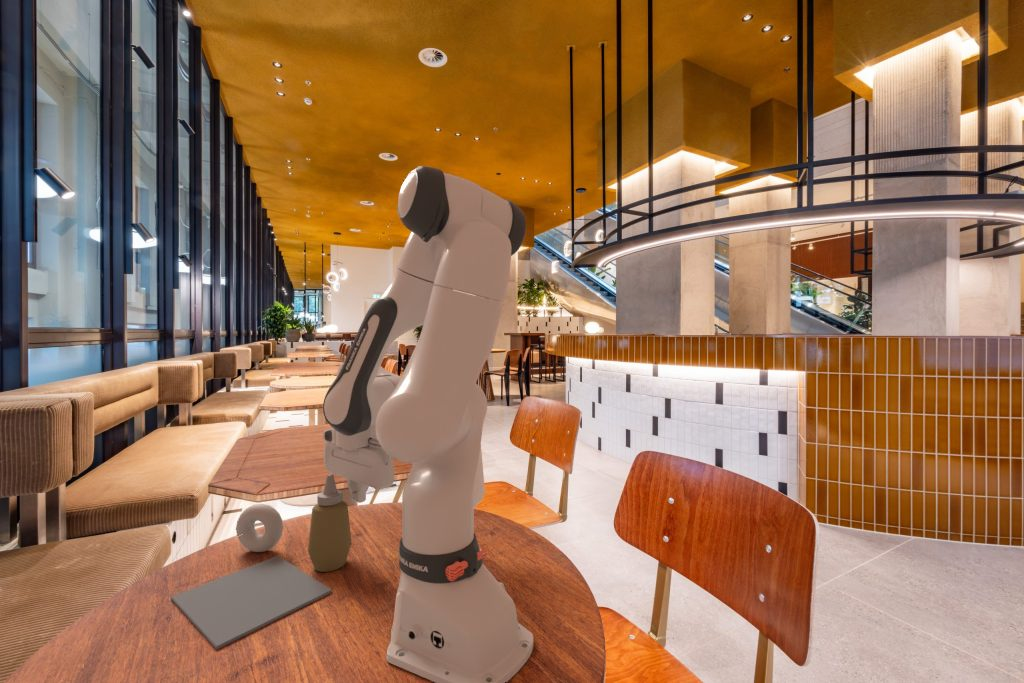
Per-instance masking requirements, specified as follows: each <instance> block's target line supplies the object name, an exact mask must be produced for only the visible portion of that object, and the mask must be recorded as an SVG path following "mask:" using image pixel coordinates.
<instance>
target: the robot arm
mask: <svg viewBox="0 0 1024 683" xmlns="http://www.w3.org/2000/svg"><path fill="white" fill-rule="evenodd" d="M397 201H398V202H397V214H398V215H397V216H398V217H399V220H400V221H401V223H402V225H403V226H404V227H405V228H406V229H408V230H409V231H410V233H409V236H408V237H407V240H406V241H405V243H404V247H403V249H402V252H401V255H400V257H399V260H398V264H397V266H396V270H395V272H394V275H393V277H392V279H391V281H390V283H389V285H388V286H387V288H386V290H385V291H384V292H383V294H381V296H380V297H379V298H377V299H376V300H375V301H374V302H373V303H372V304H371V306H370V307H369V309H368V310H367V312H366V314H365V316H364V317H363V320H362V321H361V324H360V326H359V329H358V331H357V333H356V335H355V337H354V339H353V341H352V344H351V346H350V348H349V351H348V353H347V356H346V357H345V360H344V361H342V362H341V363H340V364H339V366H338V369H337V374H336V378H335V379H334V380H333V382H332V383H331V385H330V387H329V388H328V390H327V391H326V394H325V396H324V400H323V404H322V412H323V416H324V419H325V421H326V422H327V423H328V425H329V426H330V428H329V429H326V430H324V431H323V432H322V438H323V439H322V440H323V441H325V443H324V446H323V460H324V461H323V462H324V467H325V470H326V472H328V473H329V474H333V475H335V476H339V477H341V478H344V479H346V484H347V487H348V490H349V492H350V494H349V496H350V497H349V498H350V500H351V501H354V502H356V503H360V504H361V503H363V502H365V501H366V500H367V495H366V494H367V492H368V489H369V488H373V489H376V490H378V491H379V490H383V489H387V488H389V487H392V485H393V484H394V482H395V468H394V460H395V461H397V462H400V463H403V464H411V468H410V470H409V473H408V476H407V479H406V480H405V483H404V486H403V488H402V496H401V497H402V499H401V500H402V504H401V505H402V506H401V508H402V510H401V511H402V513H401V515H402V520H401V521H402V523H401V524H402V525H401V526H402V528H401V531H402V533H401V534H402V536H401V538H400V540H399V549H398V554H397V555H398V565H399V569H400V578H399V582H398V587H397V591H396V593H395V594H396V595H395V603H394V605H395V606H394V612H393V622H392V627H391V630H390V642H389V644H388V647H387V651H386V657H385V659H386V661H387V663H389V664H392V665H394V666H396V667H398V668H400V669H402V670H405V671H407V672H410V673H413V674H415V675H417V676H420V677H421V678H425V679H427V680H429V681H431V682H434V683H505V682H506V683H508V682H509V681H510V680H511V679H512V677H514V676H515V675H516V674H518V672H519V671H520V670H521V669H522V667H524V665H525V664H526V663H527V661H529V658H530V657H531V654H532V652H533V650H534V646H535V645H534V644H535V643H534V642H535V640H534V634H533V633H532V632H531V631H530V630H529V629H527V628H526V627H524V626H523V625H522V624H521V623H519V621H518V612H517V608H516V604H515V602H514V600H513V598H512V597H511V596H510V595H509V594H508V593H507V590H506V586H505V584H504V583H503V582H500V581H498V580H497V579H496V578H495V577H494V576H493V574H492V573H491V571H490V570H489V569H487V568H488V567H486V565H484V563H483V561H484V560H483V558H484V557H487V555H488V553H486V552H487V551H488V547H484V548H483V549H481V548H480V545H479V541H478V538H477V536H476V533H475V532H474V531H475V530H474V529H475V526H474V525H475V519H474V518H475V507H474V487H475V477H476V470H477V465H478V459H479V452H480V445H481V446H482V443H481V442H482V437H483V436H482V435H483V428H484V422H485V419H486V415H487V411H488V399H487V397H486V394H485V392H484V390H483V389H482V388H481V387H480V385H479V384H477V381H478V379H479V377H480V374H481V372H482V370H483V368H484V366H485V363H486V362H487V360H488V358H489V357H490V355H491V353H492V352H493V351H492V350H493V348H494V347H493V346H494V343H495V338H496V335H497V330H498V326H499V323H500V319H501V316H502V315H501V314H502V312H503V307H504V303H505V300H506V295H507V289H508V285H509V278H510V271H511V263H512V256H513V255H515V254H516V253H517V252H518V251H519V250H520V248H521V246H522V245H523V243H524V240H525V237H526V233H527V220H526V215H525V213H524V212H523V210H522V209H521V208H520V207H519V206H518V205H517V204H515V203H514V202H512V201H511V200H509V199H507V198H506V199H504V198H502V197H501V196H499V195H497V194H496V193H493V192H492V191H490V190H488V189H486V188H484V187H482V186H480V185H479V183H476V182H473V181H471V180H468V179H465V178H463V177H460V176H457V175H453V174H450V173H446V172H443V170H442V169H439V168H436V167H431V166H426V165H419V166H417V167H416V168H414V169H413V170H411V171H410V172H409V173H408V175H407V176H406V178H405V180H404V181H403V183H402V185H401V186H400V189H399V192H398V200H397ZM419 327H422V329H421V331H420V335H419V338H418V340H417V343H416V345H415V347H414V349H413V351H412V354H411V356H410V358H409V360H408V362H407V364H406V366H405V368H404V370H403V373H402V375H399V374H395V373H393V372H392V371H389V370H387V369H385V368H384V367H383V366H382V363H383V361H384V358H385V355H386V353H387V351H388V350H389V348H390V346H391V345H392V344H393V343H394V342H395V341H396V340H397V339H398V338H400V337H401V336H403V335H404V334H406V333H408V332H409V331H412V330H414V329H416V328H419ZM480 549H481V551H480Z"/></svg>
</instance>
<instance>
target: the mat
mask: <svg viewBox="0 0 1024 683" xmlns="http://www.w3.org/2000/svg"><path fill="white" fill-rule="evenodd" d="M331 593H333V592H332V589H331V588H330V587H328V586H326V585H325V584H323V583H321V582H319V581H318V580H317V579H315V578H314V577H312V576H311V575H309V574H307V573H306V572H305V571H302V570H301V569H300V568H298V567H297V566H295V565H293V564H292V563H290V562H289V561H288V560H286V559H284V558H283V557H281V556H279V555H276V556H273V557H270V558H268V559H265V560H262V561H261V562H258V563H255V564H252V565H250V566H248V567H245V568H242V569H240V570H237V571H235V572H232V573H229V574H226V575H225V576H224V575H223V576H221V577H218V578H216V579H213V580H211V581H208V582H206V583H203V584H200V585H197V586H196V587H193V588H190V589H187V590H185V591H181V592H180V593H177V594H175V595H171V596H170V600H171V601H172V603H173V604H174V605H175V606H176V607H177V608H178V609H179V610H180V612H182V613H183V614H184V615H185V617H186V618H187V619H188V620H189V621H190V622H191V623H192V624H193V625H194V627H195V628H196V629H197V630H198V631H199V632H200V634H202V636H203V637H204V638H205V639H206V640H207V641H208V642H209V643H210V644H211V646H212V647H213V649H215V650H219V649H220V648H223V647H225V646H227V645H229V644H231V643H233V642H235V641H237V640H239V639H240V638H243V637H246V636H247V635H249V634H251V633H253V632H256V631H258V630H259V629H261V628H263V627H265V626H267V625H270V624H271V623H273V622H276V621H277V620H280V619H282V618H283V617H285V616H288V615H290V614H291V613H293V612H296V611H297V610H299V609H302V608H304V607H305V606H307V605H310V604H312V603H314V602H315V601H318V600H320V599H322V598H325V597H326V596H327V595H330V594H331Z"/></svg>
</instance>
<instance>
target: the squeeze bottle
mask: <svg viewBox="0 0 1024 683" xmlns="http://www.w3.org/2000/svg"><path fill="white" fill-rule="evenodd" d="M324 482H325V483H324V488H323V491H321V492H318V494H317V495H316V496H317V497H316V498H317V500H316V502H317V503H316V504H315V505H314V506H313V507H312V509H311V518H310V528H309V537H308V543H307V544H308V546H307V552H308V555H309V557H310V560H311V563H312V566H313V568H314V570H316V571H317V572H320V573H321V572H323V573H327V572H332V571H336V570H339V569H341V568H342V567H344V565H345V564H346V563H347V559H348V556H349V553H350V550H351V547H352V533H351V523H350V517H349V506H348V503H347V502H346V500H345V501H344V499H343V497H344V496H343V491H342V490H340V489H337V486H336V480H335V477H334V474H332V473H329V474H327V475H326V478H325V481H324Z"/></svg>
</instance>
